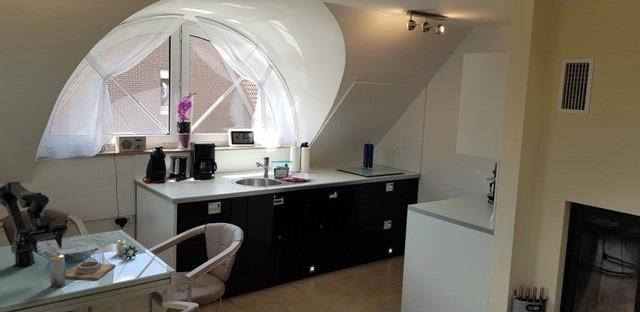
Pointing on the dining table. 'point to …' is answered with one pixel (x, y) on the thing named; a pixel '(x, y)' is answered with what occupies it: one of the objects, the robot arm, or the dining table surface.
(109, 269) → the flange board
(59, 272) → the gray can
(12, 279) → the dining table surface
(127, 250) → the valve
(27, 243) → the robot arm
